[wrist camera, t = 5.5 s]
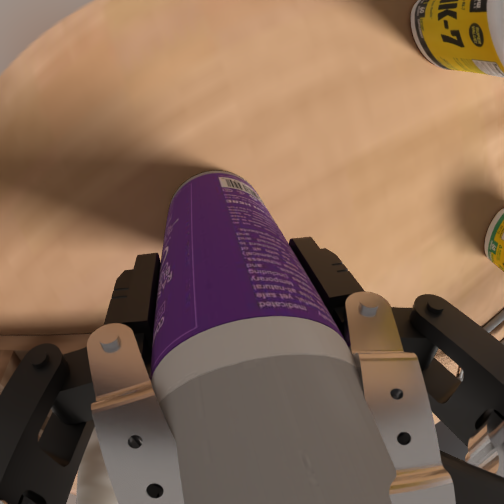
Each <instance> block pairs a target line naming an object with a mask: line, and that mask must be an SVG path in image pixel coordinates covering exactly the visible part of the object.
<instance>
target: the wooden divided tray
mask: <svg viewBox="0 0 504 504" xmlns="http://www.w3.org/2000/svg"><path fill="white" fill-rule="evenodd" d="M90 335H91V334H72V335H31V336H4V335H0V394H1V392H2V391H3V389H4V387H5V386H6V384H7V383H8V381H9V379H10V378H11V376H12V375H13V373H14V371H15V370H16V368H17V367H18V365H19V364H20V362H21V361H22V359H23V358H24V356H25V355H26V354H27V352H28V351H29V350H31V349H32V348H34V347H35V346H37V345H40V344H44V343H50V344H54V345H56V346H57V347H58V348H59V349H60V351H61V352H62V354H66V353H70V352H73V351H76V350H79V349H82V348H85V347H87V341H88V339H89V337H90ZM52 412H53V411H52V410H51V409H50V411H49V413H48V415H47V417H46V419H45V422H44V424H43V426H42V428H41V430H40V432H39V435H38V441H39V439H40V437H41V435H42V433H43V431H44V429H45V427H46V424H47V422H48V420H49V418H50V416H51V414H52ZM76 504H118V501H117V498H116V496H115V493H114V490H113V487H112V484H111V481H110V478H109V475H108V472H107V469H106V466H105V462H104V459H103V456H102V452H101V448H100V445H99V441H98V437H97V433H96V429H95V427H94V430H93V432H92V435H91V437H90V440H89V442H88V445H87V447H86V450H85V452H84V455H83V458H82V460H81V463H80V466H79V468H78V480H77V498H76Z"/></svg>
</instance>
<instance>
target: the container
mask: <svg viewBox="0 0 504 504" xmlns="http://www.w3.org/2000/svg"><path fill="white" fill-rule="evenodd" d="M150 379H151V382H152V385H153V388H154V391H155V394H156V396H157V399H158V401H159V404H160V407H161V409H162V411H163V414H164V416H165V419H166V421H167V423H168V426H169V428H170V430H171V433H172V435H173V437H174V439H175V441H176V446H177V455H178V463H179V470H180V478H181V485H182V491H183V498H184V504H392V502H391V500H390V496H389V489H390V486H391V484H392V482H393V481H394V479H395V478H396V469H395V467H394V464H393V462H392V460H391V457H390V455H389V453H388V450H387V448H386V446H385V443H384V441H383V439H382V436H381V434H380V432H379V430H378V427H377V425H376V423H375V421H374V418H373V416H372V414H371V412H370V409H369V407H368V405H367V403H366V401H365V398H364V393H363V389H362V385H361V381H360V378H359V374H358V371H357V367H356V364H355V362H354V359H353V356H352V354H351V352H350V350H349V348H348V345H347V343H346V341H345V339H344V338H343V336H342V334H341V332H340V331H339V329H338V327H337V325H336V324H335V322H334V320H333V318H332V317H331V315H330V313H329V311H328V310H327V308H326V306H325V305H324V303H323V301H322V299H321V298H320V296H319V294H318V293H317V291H316V289H315V287H314V286H313V284H312V282H311V281H310V279H309V277H308V276H307V274H306V272H305V271H304V269H303V267H302V266H301V264H300V262H299V261H298V259H297V257H296V256H295V254H294V252H293V251H292V249H291V247H290V246H289V244H288V242H287V241H286V239H285V237H284V236H283V234H282V232H281V231H280V229H279V228H278V226H277V224H276V223H275V221H274V219H273V218H272V216H271V215H270V213H269V211H268V210H267V208H266V207H265V205H264V203H263V202H262V200H261V199H260V197H259V195H258V194H257V192H256V191H255V190H254V188H253V187H252V186H251V185H250V184H249V183H248V182H247V181H246V180H244V179H243V178H241V177H240V176H238V175H236V174H233V173H230V172H226V171H208V172H203V173H200V174H197V175H195V176H193V177H192V178H190V179H188V180H187V181H186V182H184V183H183V184H182V185H181V186H180V187H179V189H178V190H177V191H176V193H175V194H174V196H173V198H172V200H171V203H170V207H169V211H168V217H167V223H166V230H165V236H164V243H163V250H162V257H161V265H160V273H159V281H158V290H157V299H156V309H155V319H154V331H153V344H152V359H151V377H150ZM163 492H164V490H163V491H162V492H160V493H159V497H161V496H162V495H163Z"/></svg>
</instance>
